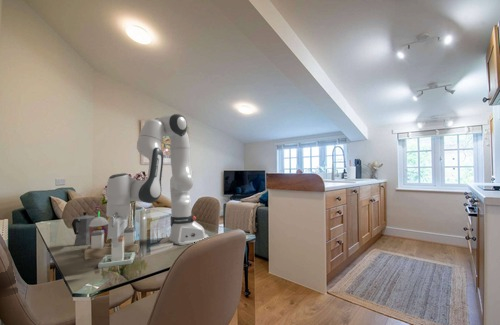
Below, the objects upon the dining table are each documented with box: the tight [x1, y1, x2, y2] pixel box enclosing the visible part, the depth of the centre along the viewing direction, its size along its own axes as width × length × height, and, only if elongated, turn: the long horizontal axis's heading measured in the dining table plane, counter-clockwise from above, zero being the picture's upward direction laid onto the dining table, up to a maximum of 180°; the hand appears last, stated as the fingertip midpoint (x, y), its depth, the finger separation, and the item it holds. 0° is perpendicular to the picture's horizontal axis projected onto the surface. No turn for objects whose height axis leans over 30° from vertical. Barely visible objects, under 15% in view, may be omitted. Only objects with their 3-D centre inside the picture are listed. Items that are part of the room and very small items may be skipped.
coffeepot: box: [71, 211, 96, 247], centre depth 124 cm, size 15×9×18 cm, turn 1°
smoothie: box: [89, 210, 109, 246], centre depth 114 cm, size 8×8×20 cm
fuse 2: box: [123, 226, 136, 245], centre depth 109 cm, size 4×4×11 cm
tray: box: [97, 252, 136, 269], centre depth 97 cm, size 12×10×3 cm
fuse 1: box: [91, 230, 104, 249], centre depth 105 cm, size 4×4×11 cm
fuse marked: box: [110, 235, 125, 262], centre depth 98 cm, size 4×4×11 cm
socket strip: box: [84, 240, 140, 261], centre depth 107 cm, size 21×7×6 cm, turn 109°
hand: (118, 243), depth 98 cm, fingers open, 8 cm apart
